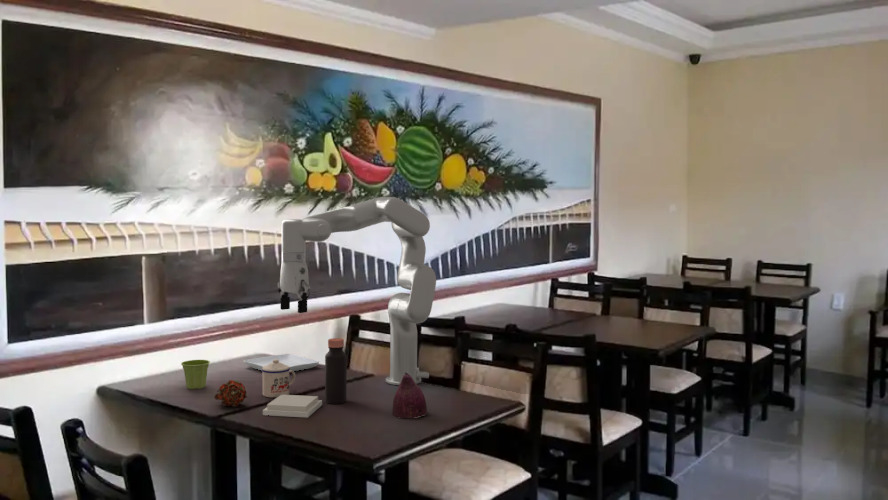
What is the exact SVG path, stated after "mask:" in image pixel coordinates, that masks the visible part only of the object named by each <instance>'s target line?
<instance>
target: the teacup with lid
mask: <svg viewBox="0 0 888 500" xmlns="http://www.w3.org/2000/svg"><path fill="white" fill-rule="evenodd" d="M261 372H262V375H261V376H262V395H263V397H267V398H274V399H276V398H277V397H279V396H280V395H290V386H291V385H292V384H294V382H295V380H296V376H297V375H296V372H294V371H292V370H290V368H289V366H288V365H284V364H283V363H280V362H279V360H278V359H274V360H273V362H272V363H270V364H268V365H266V366H264V367H263V368H262V371H261ZM290 373H291V374H292V376H291V380H290Z"/></svg>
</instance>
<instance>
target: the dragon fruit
mask: <svg viewBox="0 0 888 500" xmlns="http://www.w3.org/2000/svg"><path fill="white" fill-rule="evenodd" d="M216 393H217V394H214V395H213V396H214V397H213V398H214V399H215V400H216V401H217V400H219V401H221V405H222V406H224V407H227V406H229V407H233V408H236V407H238V406H239V405H240V404H243V402H244V400H245V399H246V398H248V394H247V391H246V388H245V386H244V384H243V383H242V382H239V380H233V379H229V380H228V381H227V382H226V383H223V384H221V385H220V386H219V387H218V390H217V391H216Z"/></svg>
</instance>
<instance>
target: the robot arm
mask: <svg viewBox="0 0 888 500" xmlns="http://www.w3.org/2000/svg"><path fill="white" fill-rule="evenodd" d="M386 222H388V223H390V224H391V228H392V231H393V232H394V234H396V236H397V238H398V239H399V241H400V244H401V254H400V259H399V264H398V265H399V266H398V270H397V276H396V277H397V278H396V280H397V284H398V286H399V287H400V288H402V289H405V290H409V291H410V293H407V292H398V293H395V294H394V295H392V296H391V297H390V299H389V301H388V304H387V313H388V318H389V326H390V327H389V329H390V333H389V335H390V337H389V338H390V339H389V340H390V341H389V342H390V347H389V348H390V352H389V354H390V356H389V361H390V363H389V369H390V371H389V376H387V377H385V383H387V384H389V385H392V386H393V385H396V386H399V384H400V382H401V381H402V378H403V375H404V374H405V372H406V373H408V374H410V376H411V377H412V378H413V380H414V382H415V383H416V384H417V385H418V384H420V383H421V382H422V379H429V377H430V373H429V372H427V371H421V370H420V367H418V328H417V324H421V323H424V322H425V321H426V320H428V318H429V317H430V315H431V312H432V307H433V302H434V296H435V291H436V286H437V276H436V273H435V271H434V269H433V268H432V267H431V266H428V265H427V264H425V258H426V251H427V250H426V242H425V239H424V237H425V236H426V235H427V234H428V232H429V231H430V228H431V224H430V220H429V218H428V217H427V215H426V214H425V213H423V212H422V211H420V210H418V209H417V208H415V207H414V206H412V205H410V204H408V203H407V202H405V201H403V199H400V198H398V197H394V196H380V197H375V198H372V199H369V200H365V201H361V202H358V203H354V204H352V205H348V206H344V207H341V208H340V207H339V208H335V209H333V210H332V209H331V210H329V211H323V212H320V213H317V214H313V215H309V216H306V217H304V218H301V219H300V218H298V219H297V218H290V219H289V218H287V219H283V221H281V266H280V276H279V280H278V282H277V283H276V285H277V288H278V289H277V292H278V293H279V298H280V310H290V309H291V297H290V294H293V295H296V296H297V298H298V300H297V313H298V314H304V313H307V312H308V300H309V297H310V295H311V290H312V287H311V286H310V283H309V281H310V280H309V270H308V264H307V262H306V258H307V257H306V256H307V255H306V242H316V243H322V242H324V241H327V240H328V239H329V238H330V236H331V234H333V233H344V232H345V233H346V232H355V231H359V230H362V229H366V228H367V227H371V226H375V225H377V224H381V223H386Z"/></svg>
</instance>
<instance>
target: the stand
mask: <svg viewBox="0 0 888 500" xmlns="http://www.w3.org/2000/svg"><path fill="white" fill-rule="evenodd" d="M321 406H323V400H322V399H321V400H320V399H319V396H318V395H316V396H315V395H299V394H297V395H296V394H295V395H294V394H288V395H280V396H279V397H276V398H274V399H273V400H271V401H270V402H268V403H267V404H266V407H265V408H264V409H262V416H268V415H269V416H271V417H272V416H273V417H292V418H294V417H295V418H307V419H308V418H309V417H310V416H312V415H313V414H314V413H315V412H317V410H318V409H320V408H321Z"/></svg>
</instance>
